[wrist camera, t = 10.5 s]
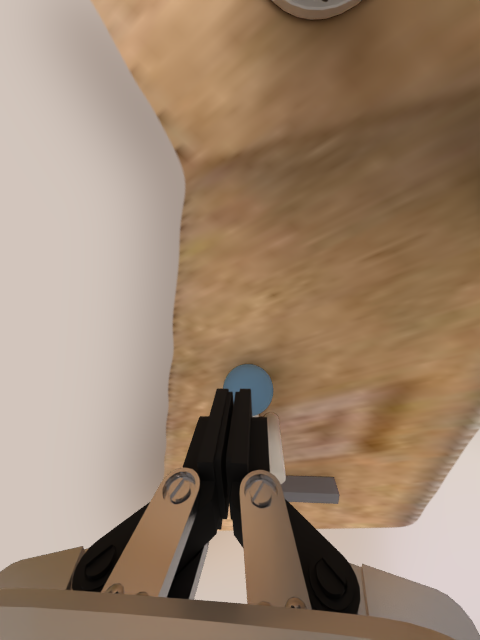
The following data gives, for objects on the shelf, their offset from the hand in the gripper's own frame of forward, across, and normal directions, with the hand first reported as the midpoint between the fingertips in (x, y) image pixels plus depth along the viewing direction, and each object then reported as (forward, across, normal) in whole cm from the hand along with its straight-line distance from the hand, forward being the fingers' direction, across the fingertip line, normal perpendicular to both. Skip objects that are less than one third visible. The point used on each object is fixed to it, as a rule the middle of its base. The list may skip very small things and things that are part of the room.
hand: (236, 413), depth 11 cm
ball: (+14, 0, +9) cm, 17 cm away
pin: (+17, -2, +16) cm, 24 cm away
